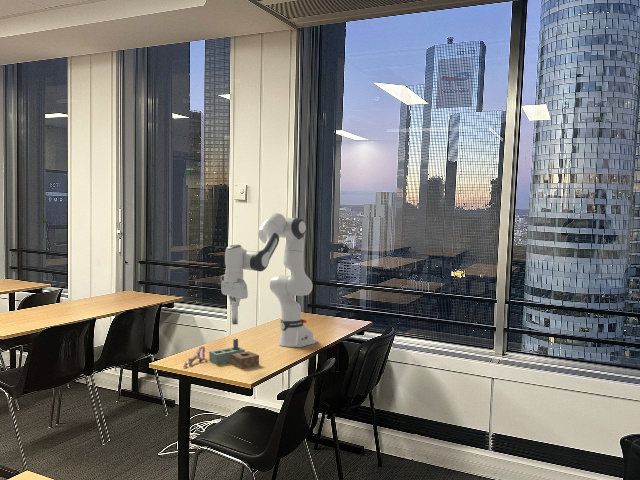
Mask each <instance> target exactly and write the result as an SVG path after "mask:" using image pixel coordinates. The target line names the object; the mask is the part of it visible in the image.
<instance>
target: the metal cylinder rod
mask: <svg viewBox="0 0 640 480" xmlns="http://www.w3.org/2000/svg"><path fill="white" fill-rule="evenodd" d="M231 300H232V305H231V325H238V324H239V306H235V302H236V299H235V297H232V298H231Z"/></svg>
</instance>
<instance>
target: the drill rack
mask: <svg viewBox="0 0 640 480" xmlns="http://www.w3.org/2000/svg"><path fill="white" fill-rule="evenodd" d="M241 352H246V350H245V349H244V348H242V347H240V346H238V350H233V346H231V347H226V348H220V349H215V350H210V351H209V352H208V353H209V354H208V356H209V357H208V358H209V362H211V363H213V364H214V365H216V366H217V365H223V364H227V363H231V354H236V353H241Z"/></svg>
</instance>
